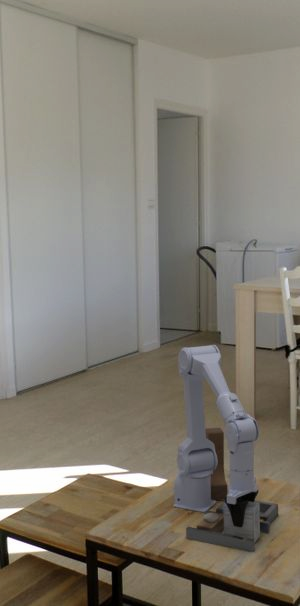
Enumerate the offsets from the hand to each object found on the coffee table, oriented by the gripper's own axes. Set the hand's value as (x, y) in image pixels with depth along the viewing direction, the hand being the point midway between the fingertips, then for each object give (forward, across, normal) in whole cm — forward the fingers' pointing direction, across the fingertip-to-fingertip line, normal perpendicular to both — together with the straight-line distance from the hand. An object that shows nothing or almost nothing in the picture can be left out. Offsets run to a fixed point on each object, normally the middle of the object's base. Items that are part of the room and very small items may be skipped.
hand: (241, 522), depth 181 cm
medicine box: (+4, 0, 0) cm, 4 cm away
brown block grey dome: (+4, 0, +8) cm, 9 cm away
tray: (+4, +12, +3) cm, 13 cm away
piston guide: (+4, 0, +4) cm, 5 cm away
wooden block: (+4, +23, +16) cm, 28 cm away
